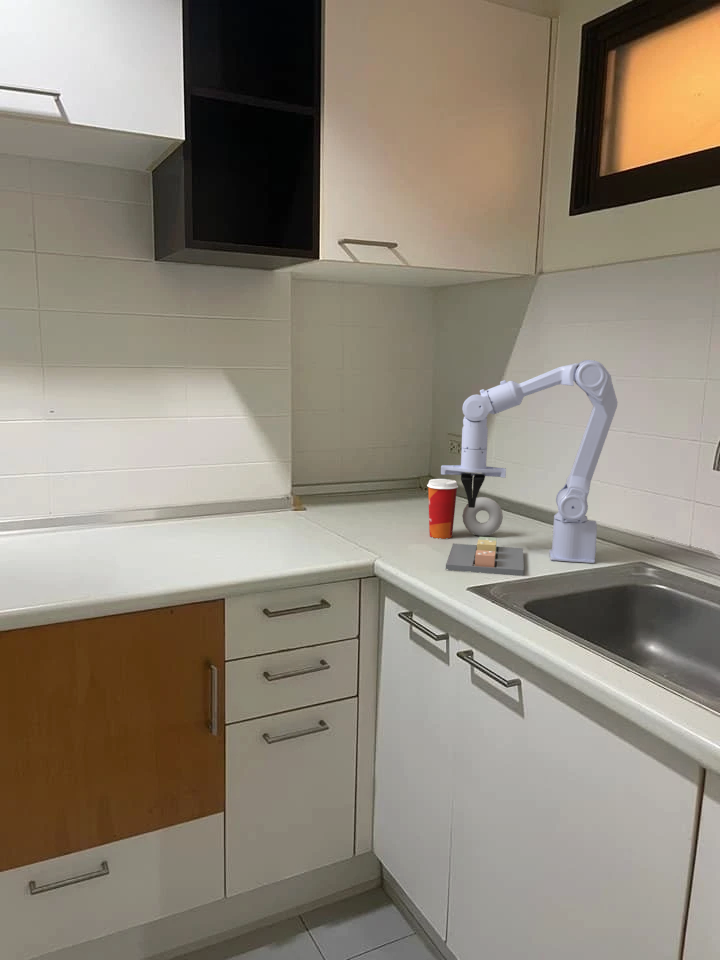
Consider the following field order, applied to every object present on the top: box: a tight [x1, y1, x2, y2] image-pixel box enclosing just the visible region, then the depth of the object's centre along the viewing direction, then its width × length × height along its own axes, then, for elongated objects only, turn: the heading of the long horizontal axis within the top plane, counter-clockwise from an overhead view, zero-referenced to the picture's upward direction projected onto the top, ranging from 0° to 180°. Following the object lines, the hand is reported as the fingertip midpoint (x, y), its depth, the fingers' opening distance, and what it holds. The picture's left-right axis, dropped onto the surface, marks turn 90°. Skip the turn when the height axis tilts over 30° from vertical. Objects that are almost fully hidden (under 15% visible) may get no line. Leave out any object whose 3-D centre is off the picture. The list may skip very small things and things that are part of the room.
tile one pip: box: [478, 536, 498, 546], centre depth 170 cm, size 4×4×3 cm
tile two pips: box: [476, 539, 497, 556], centre depth 164 cm, size 4×4×3 cm
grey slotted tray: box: [445, 543, 524, 577], centre depth 164 cm, size 16×18×1 cm
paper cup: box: [426, 478, 459, 540], centre depth 185 cm, size 8×8×14 cm
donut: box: [461, 496, 504, 537], centre depth 186 cm, size 10×4×10 cm, turn 84°
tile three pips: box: [474, 550, 496, 567], centre depth 158 cm, size 4×4×3 cm
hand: (471, 506), depth 171 cm, fingers closed
